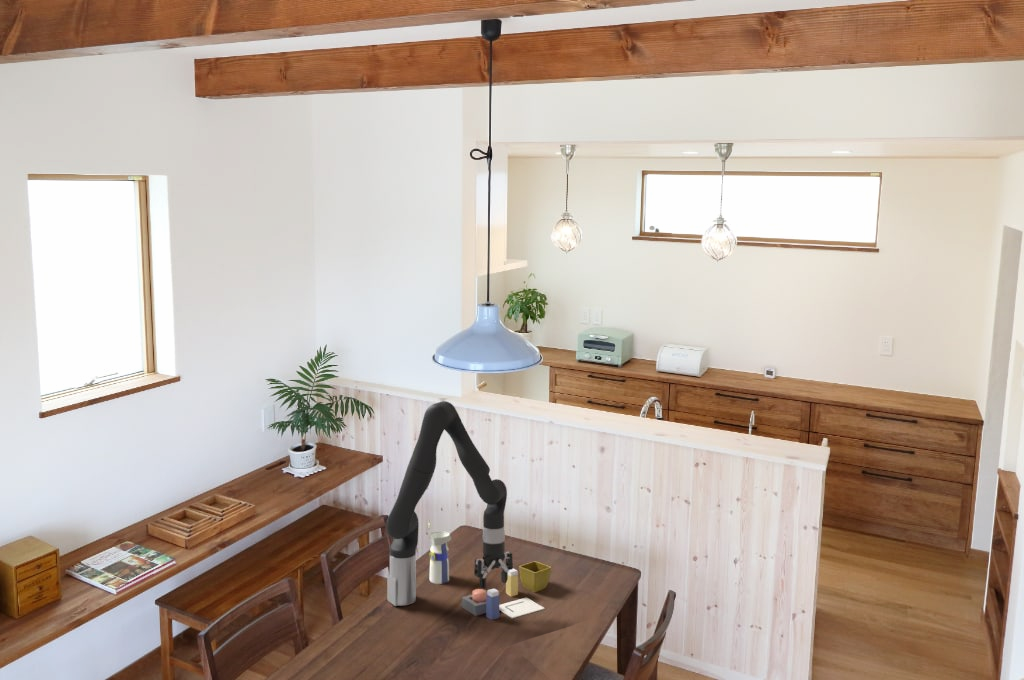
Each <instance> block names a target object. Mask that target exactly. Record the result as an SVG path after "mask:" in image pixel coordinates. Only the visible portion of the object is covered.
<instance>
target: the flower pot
mask: <svg viewBox="0 0 1024 680" xmlns="http://www.w3.org/2000/svg"><path fill="white" fill-rule="evenodd" d="M518 569H519V578H520V582H521V585H522V587H523V588H524V589H526V590H528V591H530V592H533V593H537V592H539V591H542V590H544V589H546V588H547V586H548V584H549V581H550V578H551V577H550V576H551V571H552V566H549V565H547V564H544V563H542V562H539V561H535V560H534V561H530V562H528V563H525V564H521V565H519V566H518Z"/></svg>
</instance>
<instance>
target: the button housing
mask: <svg viewBox="0 0 1024 680" xmlns="http://www.w3.org/2000/svg"><path fill="white" fill-rule="evenodd" d="M461 607H462V608H463V609H465V610H466V611H467V612H469V613H470V614H471V615H473V616H475V617H477V616H481V615H484V614H486V601H484V602H480V603H476V602H474V601H473V600H472V594H469V595H465V596H462V597H461Z"/></svg>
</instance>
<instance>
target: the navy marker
mask: <svg viewBox="0 0 1024 680" xmlns="http://www.w3.org/2000/svg"><path fill="white" fill-rule="evenodd" d="M486 591H487V598H486V613H485V616H486V618H488V619H489V620H490V621H492V620H496V619H497V620H498V619H499V618H500V610H499V605H500V590H497V589H496V588H491V589H487V590H486Z"/></svg>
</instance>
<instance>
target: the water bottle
mask: <svg viewBox="0 0 1024 680" xmlns="http://www.w3.org/2000/svg"><path fill="white" fill-rule="evenodd" d="M430 522H431V521H430V519H429V520H428V521H427V528H428V530H430V527H431V523H430ZM428 538H429V543H430V542H431V547H430V549H429V551H430V552H429V553H428V558H429V559H430V560H429V578H428V579H429V581H430V583H432V584H434V585H435V584H437V585H440V584H441V585H442V584H446V583H448V582H449V581H450V561H449V560H450V559H449V557H448V556H449V555H448V552H449V550H450V548H449V547H448V543H449V542H450V541H452V536H451V534H450V532H448V531H444V530H438V531H433V532H430V534H429V535H428Z"/></svg>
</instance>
